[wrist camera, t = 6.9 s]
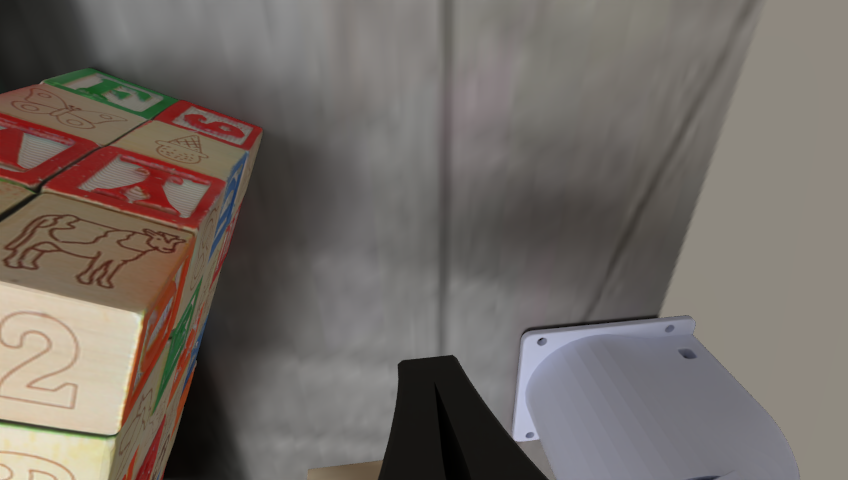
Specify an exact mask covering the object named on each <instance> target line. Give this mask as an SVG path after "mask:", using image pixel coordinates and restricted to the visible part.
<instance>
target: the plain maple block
mask: <svg viewBox="0 0 848 480" xmlns="http://www.w3.org/2000/svg"><path fill="white" fill-rule="evenodd" d="M382 463H383V460H381V461H373V462H365V463H357V464H349V465H341V466H332V467H324V468H316V469H308V477H307V480H378V477H379V473H380V470H381V466H382Z"/></svg>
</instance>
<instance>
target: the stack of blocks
mask: <svg viewBox="0 0 848 480" xmlns="http://www.w3.org/2000/svg"><path fill="white" fill-rule="evenodd" d="M262 135H263V129H262V128H260V127H258V126H255V125H252V124H249V123H246V122H243V121H241V120H238V119H235V118H232V117H230V116H227V115H224V114H221V113H218V112H216V111H213V110H210V109H207V108H204V107H201V106H198V105H195V104H192V103H190V102H187V101H184V100H178V99H175V98H172V97H169V96H166V95H163V94H161V93H158V92H155V91H152V90H150V89H147V88H144V87H141V86H139V85H136V84H133V83H130V82H127V81H125V80H122V79H119V78H116V77H113V76H111V75H108V74H105V73H102V72H100V71H97V70H95V69H92V68H87V69H83V70H79V71H75V72H71V73H67V74H63V75H60V76H57V77H54V78H50V79H47V80H43V81H42V82H41V83H40V84H38V85H33V86H29V87H25V88H21V89H18V90H14V91H10V92H7V93H3V94H0V480H162V479H163V476H164V471H165V467H166V464H167V460H168V458H169V455H170V452H171V449H172V447H173V444H174V441H175V437H176V434H177V430H178V426H179V423H180V419H181V416H182V412H183V408H184V404H185V402H186V398H187V395H188V392H189V388H190V384H191V381H192V377H193V374H194V370H195V367H196V364H197V361H196V357H197V354H198V350H199V347H200V343H201V340H202V336H203V333H204V329H205V326H206V322H207V319H208V315H209V310H210V306H211V303H212V299H213V296H214V292H215V289H216V285H217V282H218V278H219V275H220V271H221V267H222V264H223V261H224V259H225V257H226V255H227V252H228V249H229V245H230V242H231V239H232V235H233V232H234V228H235V225H236V221H237V218H238V215H239V211H240V208H241V204H242V201H243V198H244V195H245V193H246V190H247V186H248V183H249V179H250V176H251V173H252V169H253V166H254V162H255V159H256V156H257V152H258V149H259V145H260V142H261V138H262Z"/></svg>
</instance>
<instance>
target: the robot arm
mask: <svg viewBox="0 0 848 480" xmlns="http://www.w3.org/2000/svg"><path fill="white" fill-rule="evenodd" d="M667 326H668V327H667ZM695 326H696V322H695V320H694V319H693V318H692V317H690V316H686V315H685V316H675V317H666V318H655V319H645V320H635V321H624V322H614V323H604V324H594V325H584V326H574V327H564V328H554V329H543V330H533V331H528V332H526V333H525V334H524V335H523V336H522V338H521V346H520V356H519V365H518V375H517V385H516V395H515V404H514V414H513V424H512V436H513V439H514V440H515V441H529V440H537V439H540V441H541V444H542V446H543V449H544V451H545V453H546V456H547V458H548V461H549V463H550V466H551V468H552V471H553V473H554V475H555V478H556V480H800V475H799V470H798V466H797V463H796V460H795V458H794V455H793V452H792V450H791V448H790V446H789V444H788V442H787V440H786V438H785V436H784V434H783V433H782V431H781V429H780V428H779V427H778V425H777V424H776V422H775V421H774V420H773V418H772V417H771V416H770V415H769V414H768V413H767V412H766V410H765V409H764V408H763V407H762V406H761V405H760V404H759V403H758V402H757V401H756V400H755V399H754V398H753V397H752V396H751V395H750V394H749V393H748V392H747V391H746V390H745V388H744V387H743V386H742V385H741V384H740V383H739V382H738V381H737V380H736V379H735V378H734V377H733V376H732V375H731V374H730V373H729V372H728V371H727V370H726V369H725V368H724V367H723V366H722V365H721V364H720V362H719V361H718V360H717V359H716V358H715V357H714V356H713V355H712V354H711V353H710V352H709V351H708V350H707V349H706V348H705V347H704V346H703V345H702V344H701V343H700V342H699V341H698V340H697V339H696V338H695V337H694V336H693V332H694V329H695ZM540 338H543V339H542V340H540V341H538V340H539V339H540ZM513 439H512V438H511V436H510V435H509V434H508V433H507V431H506V430H505V429H504V428H503V426H502V425H501V424H500V422H499V421H498V420H497V418H496V417H495V416H494V414H493V413H492V412H491V411H490V409H489V408H488V407H487V405H486V404H485V402H484V401H483V400H482V398H481V397H480V395H479V394H478V392H477V391H476V389H475V388H474V386H473V385H472V383H471V382H470V380H469V378H468V377H467V375H466V374H465V372H464V370H463V369H462V367H461V365H460V363H459V361H458V359H457V358H456V357H454V356H453V355H448V356H439V357H430V358H420V359H411V360H402V361H401V362H400V363H399V364H398V393H397V400H396V407H395V412H394V417H393V422H392V427H391V432H390V437H389V441H388V445H387V448H386V452H385V455H384V459H383V463H382V466H381V470H380V473H379V477H378V480H549V479H548V478H547V477H546V476H545V475H544V474H543V473H542V472H541V471H540V470H539V469H538V468H537V467H536V466H535V464H534V463H533V462H532V461H531V460H530V459H529V458H528V457H527V455H526V454H525V453H524V452H523V451H522V450H521V448H520V447H519V446H518V445H517V444H516V442H515V441H514V440H513Z"/></svg>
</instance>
